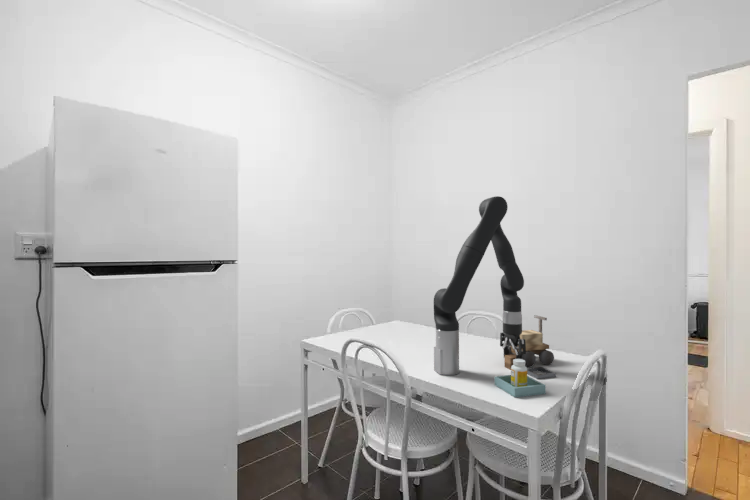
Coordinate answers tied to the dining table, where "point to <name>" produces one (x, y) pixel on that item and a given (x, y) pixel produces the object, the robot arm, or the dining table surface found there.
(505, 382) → the tray
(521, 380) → the supplement bottle
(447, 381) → the dining table surface
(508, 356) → the block
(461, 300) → the robot arm
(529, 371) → the square frame
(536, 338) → the trolley
